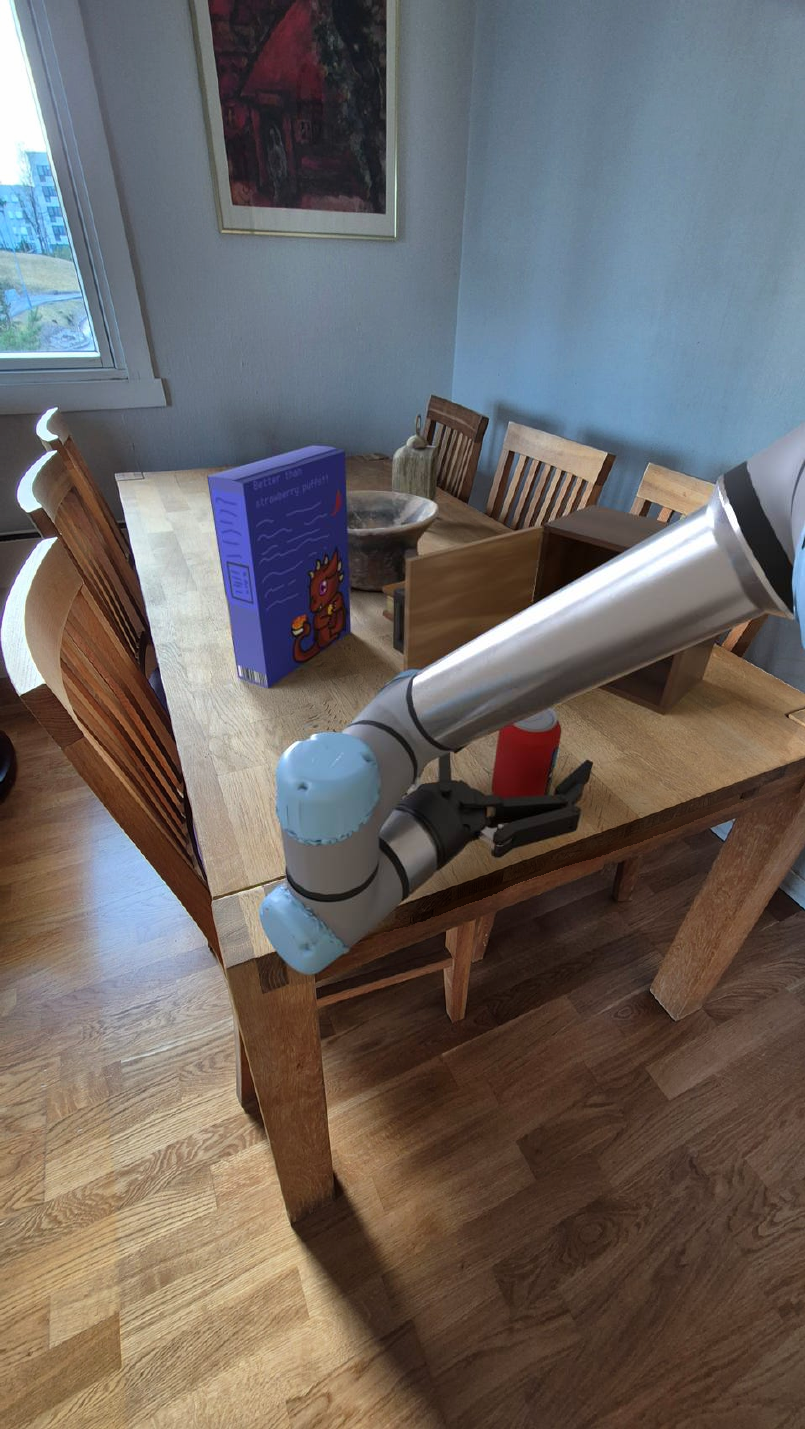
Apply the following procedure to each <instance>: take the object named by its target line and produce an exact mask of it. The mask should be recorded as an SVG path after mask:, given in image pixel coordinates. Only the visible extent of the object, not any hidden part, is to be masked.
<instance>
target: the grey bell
mask: <svg viewBox="0 0 805 1429" xmlns="http://www.w3.org/2000/svg"><path fill="white" fill-rule="evenodd" d="M421 429H422V415H421V413H417V414H416V416H415V421H414V434H415V435H411V436H410V437H409V438H408V439H407V442H406V444H405V445H404V446H401V447H400V448H398V449H397V450H396V451H395V453H394V455H393V457H392V467H391V468H392V470H391V471H392V472H391V492H397V493H404V494H411V495H415V496H419V497H422V498H426V499H429V500H431V501H433V502H434V503H435V502H436V496H437V482H438V464H439V463H438V460H439V447H438V446H437V445H429V443H428V441H427V439H426V438H425V436H424V435H421Z"/></svg>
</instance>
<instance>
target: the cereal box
mask: <svg viewBox="0 0 805 1429" xmlns="http://www.w3.org/2000/svg"><path fill="white" fill-rule="evenodd" d="M346 467H347V466H346V451H345V450H343V449H339V448H337V447H333V446H328V445H327V446H325V445H310V446H305V447H302V448H299V449H296V450H292V451H288V452H285V453H281V454H278V455H274V456H272V457H268V458H265V459H261V460H258V461H254V462H251V463H247V464H244V465H241V466H237V467H234V468H230V469H226V470H223V471H220V472H216V473H212V474H209V475H207V477H206V478H207V485H208V490H209V497H210V503H211V511H212V517H213V518H212V519H213V525H214V529H215V530H214V531H215V538H216V543H217V550H218V556H219V562H220V569H221V577H222V582H223V590H224V595H225V602H226V607H227V614H228V620H229V629H230V634H231V640H232V647H233V654H234V660H235V666H236V673H237V678H239V679H241V680H244V681H247V682H249V683H252V684H255V685H258V686H261V687H264V688H266V689H269V688H271V687H273V686H274V685H275V684H277V683H278V682H280V681H281V680H283V679H284V678H286V677H287V676H288V675H290V674H291V673H293V672H294V671H295V670H298V669H299V668H300V667H301V666H304V664H306V663H307V662H309V661H311V660H312V659H313V658H315V657H316V656H318V655H319V654H320V653H322V652H323V651H325V650H326V649H328V648H329V647H331V646H333V645H334V644H335V643H336V642H338V641H340V640H341V639H343V638H344V637H345V636H347V635H348V634H350V633H351V632H352V625H351V624H352V623H351V621H352V620H351V596H350V595H351V593H350V592H351V591H350V587H349V558H348V527H347V496H346V492H347V471H346V470H347V468H346Z"/></svg>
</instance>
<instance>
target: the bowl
mask: <svg viewBox="0 0 805 1429" xmlns="http://www.w3.org/2000/svg"><path fill="white" fill-rule="evenodd" d="M346 496H347V527H348V558H349V588H354V589H356V590H364V591H371V592H372V591H373V592H374V591H375V592H377V591H378V592H381V591H382V587H384V586H387V585H391V584H395V583H399V582H403V581H405V579H406V559H408V558H412V557H416V556H420V554H419V549H418V544H419V540H420V539H421V538H422V537H423V535H424V534H425V532H427V530H428V529H429V528H430V527H431V526H432V525H433V524H434V523H435V521H436V520H437V519H438V518H439V515H440V513H441V507H440V505H439V504H438V503H434V502H433V501H431V500H429V499H426V498H422V497H419V496H415V495H411V494H404V493H397V492H392V491H388V490H387V491H386V490H385V491H383V490H350V491H346Z"/></svg>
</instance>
